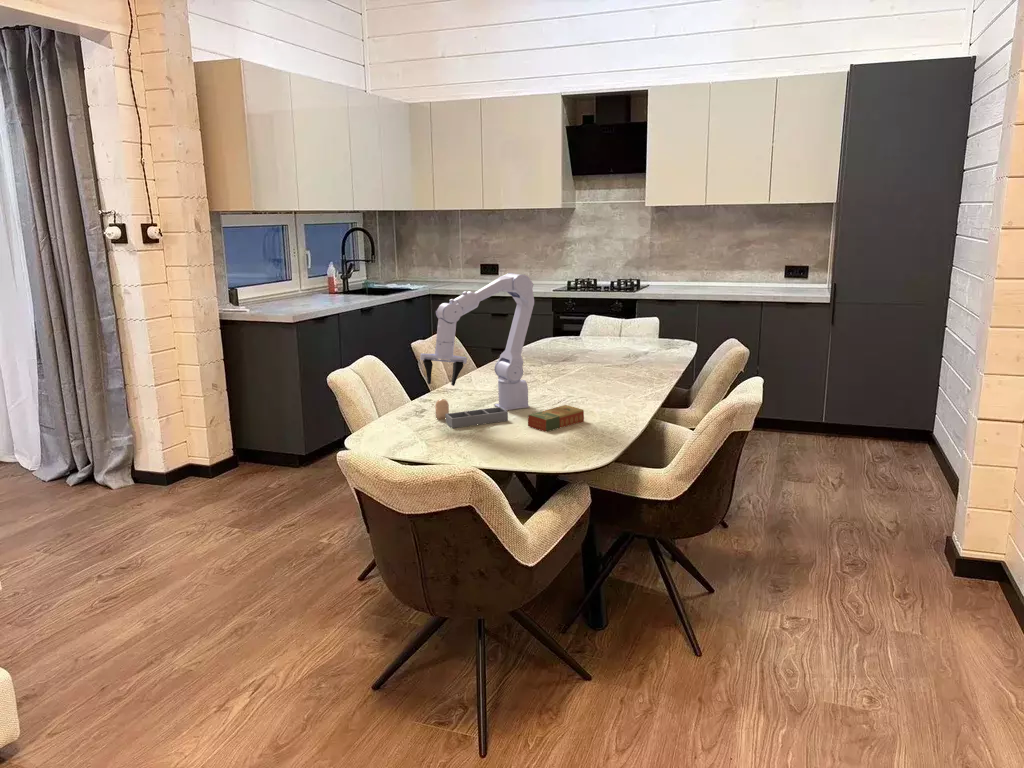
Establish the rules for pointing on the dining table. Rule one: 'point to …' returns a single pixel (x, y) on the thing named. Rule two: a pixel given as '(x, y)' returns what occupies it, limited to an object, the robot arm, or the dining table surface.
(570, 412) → the carton
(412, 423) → the dining table surface
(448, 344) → the robot arm
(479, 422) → the egg holder
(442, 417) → the egg
